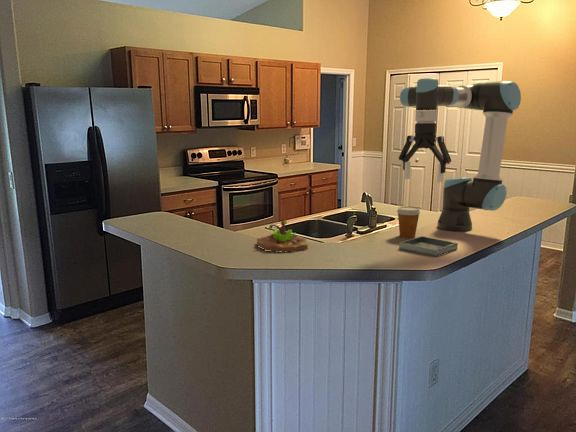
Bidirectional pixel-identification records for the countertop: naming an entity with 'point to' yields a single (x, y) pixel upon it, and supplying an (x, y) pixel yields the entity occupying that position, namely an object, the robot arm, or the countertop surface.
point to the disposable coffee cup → (408, 221)
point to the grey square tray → (428, 246)
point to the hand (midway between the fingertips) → (423, 180)
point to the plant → (282, 240)
